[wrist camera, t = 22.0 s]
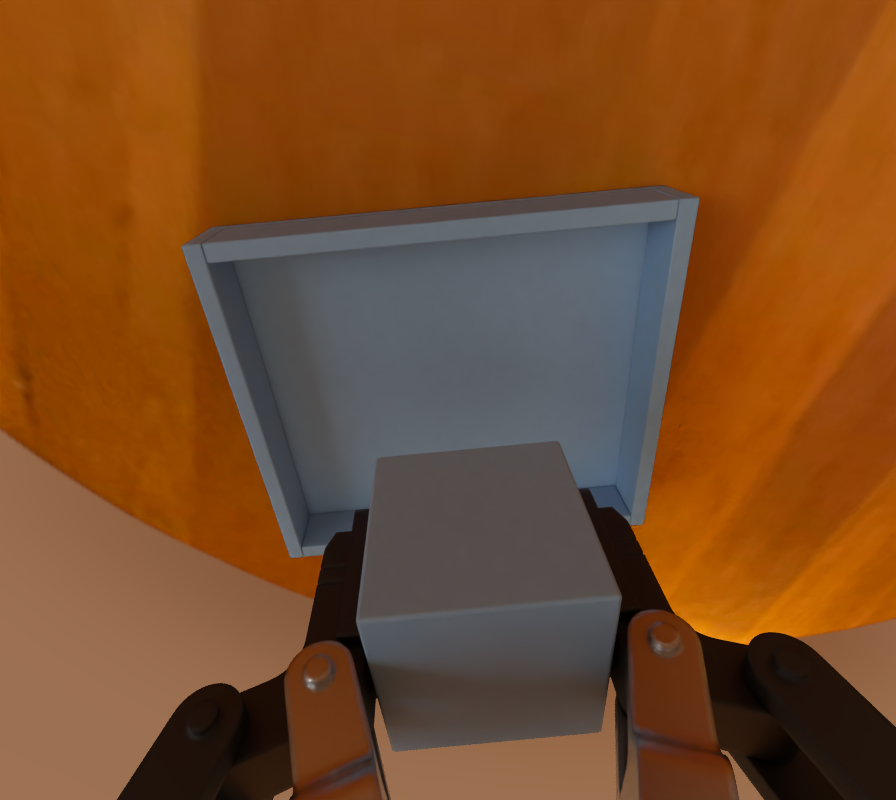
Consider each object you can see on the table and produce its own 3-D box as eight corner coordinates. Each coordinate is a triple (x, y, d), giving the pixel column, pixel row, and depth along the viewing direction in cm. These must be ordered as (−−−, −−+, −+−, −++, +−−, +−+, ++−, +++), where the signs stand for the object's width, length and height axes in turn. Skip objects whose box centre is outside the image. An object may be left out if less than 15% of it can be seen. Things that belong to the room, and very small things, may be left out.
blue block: (399, 579, 14) (392, 753, 11) (375, 456, 12) (354, 623, 8) (553, 564, 14) (602, 733, 11) (559, 439, 12) (624, 596, 8)
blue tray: (301, 516, 23) (290, 558, 21) (210, 226, 17) (179, 245, 14) (623, 486, 23) (643, 524, 21) (664, 184, 17) (700, 197, 15)
